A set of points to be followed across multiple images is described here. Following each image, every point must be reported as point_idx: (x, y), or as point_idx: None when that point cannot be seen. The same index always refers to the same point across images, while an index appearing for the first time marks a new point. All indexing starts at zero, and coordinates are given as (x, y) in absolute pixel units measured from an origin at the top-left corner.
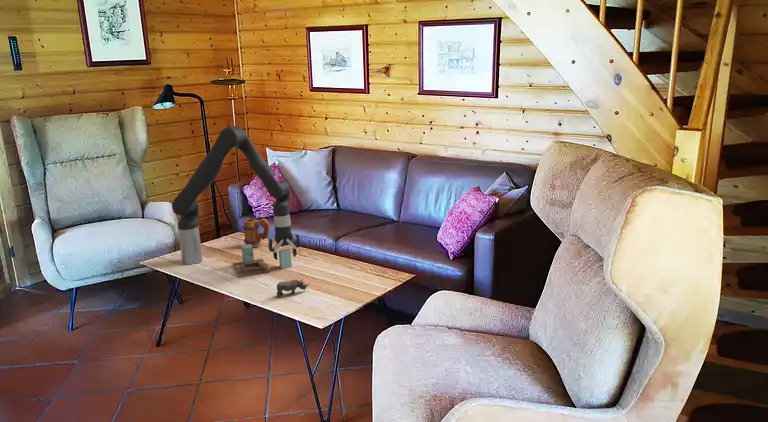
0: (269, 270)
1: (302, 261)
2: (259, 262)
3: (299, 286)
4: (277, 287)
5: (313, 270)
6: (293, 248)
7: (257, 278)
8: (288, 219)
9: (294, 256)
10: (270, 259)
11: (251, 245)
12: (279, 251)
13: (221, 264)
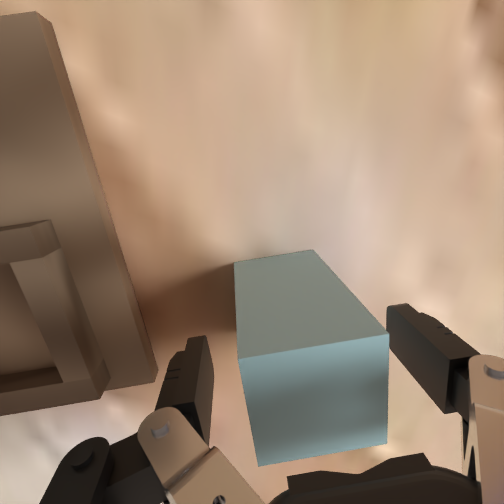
0: (148, 382)
1: (431, 211)
2: (26, 267)
3: None
4: None
5: (434, 404)
6: (456, 395)
7: (74, 446)
8: None
9: (392, 346)
10: (145, 20)
11: None
12: (246, 402)
13: None
